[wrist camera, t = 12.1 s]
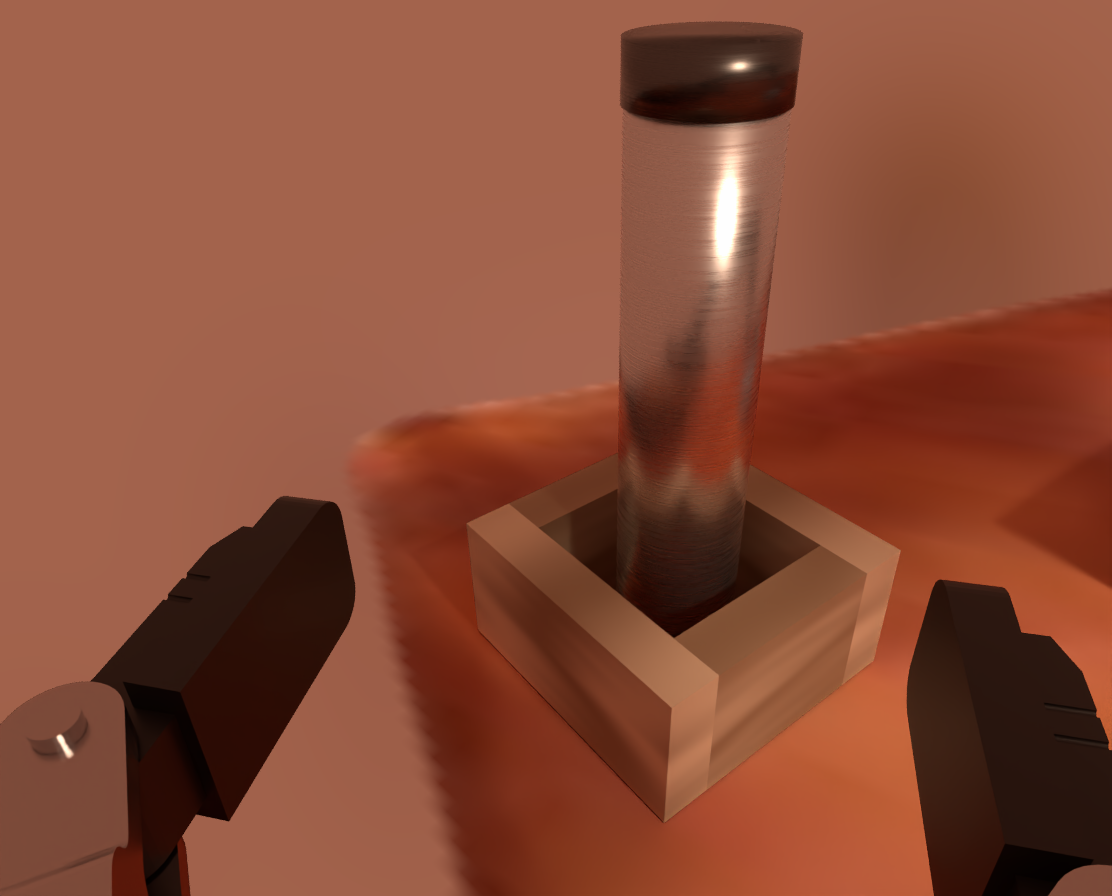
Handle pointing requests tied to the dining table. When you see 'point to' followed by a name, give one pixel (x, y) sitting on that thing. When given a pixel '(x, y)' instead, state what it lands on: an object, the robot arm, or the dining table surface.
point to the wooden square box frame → (695, 655)
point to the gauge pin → (694, 299)
